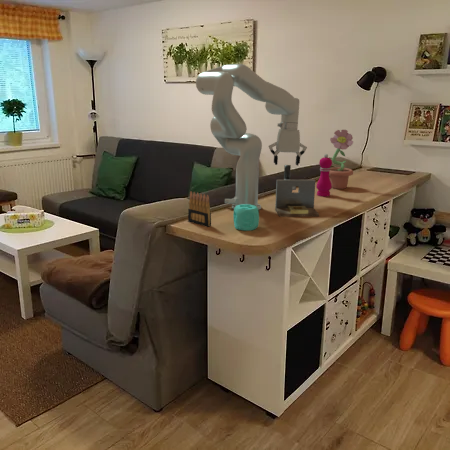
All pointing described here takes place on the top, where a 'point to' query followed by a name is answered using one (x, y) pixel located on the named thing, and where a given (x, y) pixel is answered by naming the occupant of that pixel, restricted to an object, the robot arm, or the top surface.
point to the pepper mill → (324, 177)
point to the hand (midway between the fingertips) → (286, 164)
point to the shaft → (288, 174)
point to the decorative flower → (340, 174)
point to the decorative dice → (246, 217)
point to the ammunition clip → (199, 210)
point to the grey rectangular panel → (295, 193)
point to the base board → (285, 213)
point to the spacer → (297, 209)
